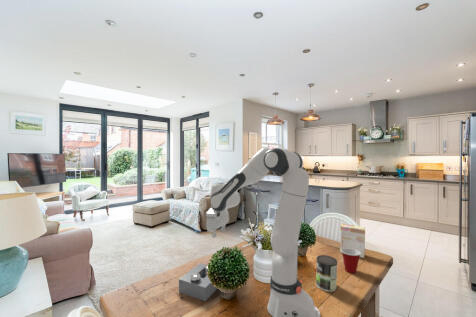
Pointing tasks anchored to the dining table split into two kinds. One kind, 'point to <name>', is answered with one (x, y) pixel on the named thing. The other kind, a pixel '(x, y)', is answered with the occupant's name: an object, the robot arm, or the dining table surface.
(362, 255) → the coffeecake box
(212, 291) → the filter housing
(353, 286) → the dining table surface
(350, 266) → the plastic cup
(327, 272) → the coffee can
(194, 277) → the plunger
